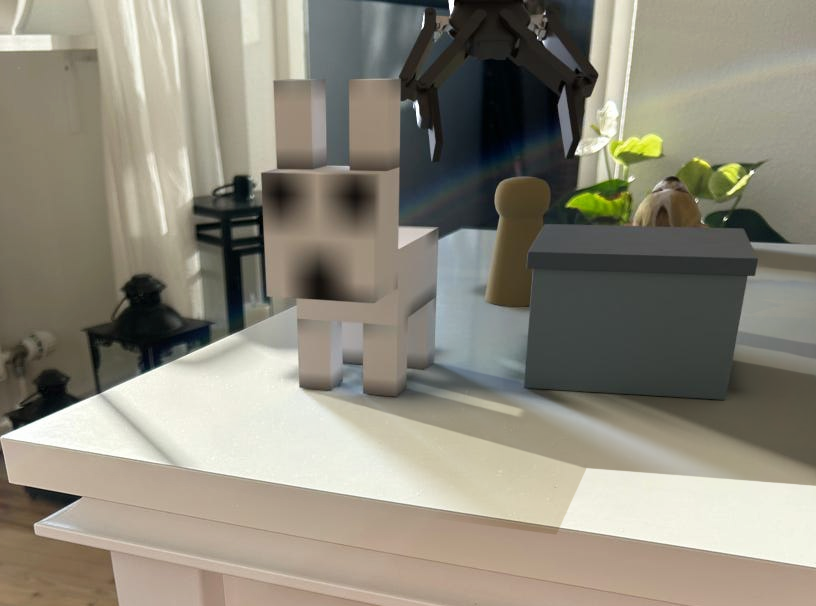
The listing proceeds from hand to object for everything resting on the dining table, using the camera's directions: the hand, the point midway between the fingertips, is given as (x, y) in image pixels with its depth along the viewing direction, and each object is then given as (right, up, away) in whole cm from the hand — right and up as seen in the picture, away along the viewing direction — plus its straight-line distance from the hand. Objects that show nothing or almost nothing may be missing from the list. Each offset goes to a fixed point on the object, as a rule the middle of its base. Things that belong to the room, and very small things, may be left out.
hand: (505, 151), depth 101 cm
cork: (+1, -15, 0) cm, 15 cm away
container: (+5, -28, -23) cm, 37 cm away
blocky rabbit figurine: (-15, -29, -24) cm, 40 cm away
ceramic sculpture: (+22, -3, +20) cm, 29 cm away
